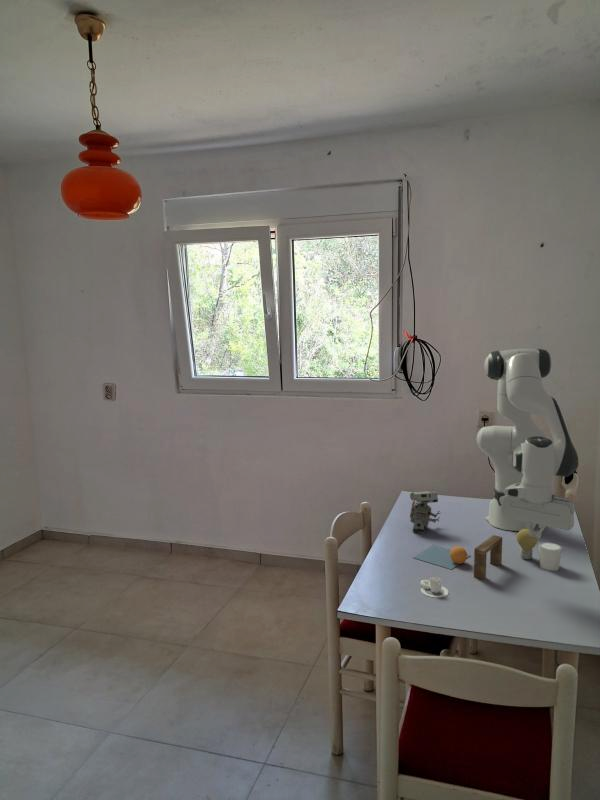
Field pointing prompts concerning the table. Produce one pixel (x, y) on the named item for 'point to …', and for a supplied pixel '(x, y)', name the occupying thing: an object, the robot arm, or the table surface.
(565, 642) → the table surface
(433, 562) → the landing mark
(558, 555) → the white cylinder
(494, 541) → the bridge
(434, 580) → the mug and donut ornament
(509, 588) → the table surface
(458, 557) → the ball
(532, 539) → the light bulb
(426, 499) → the figurine
